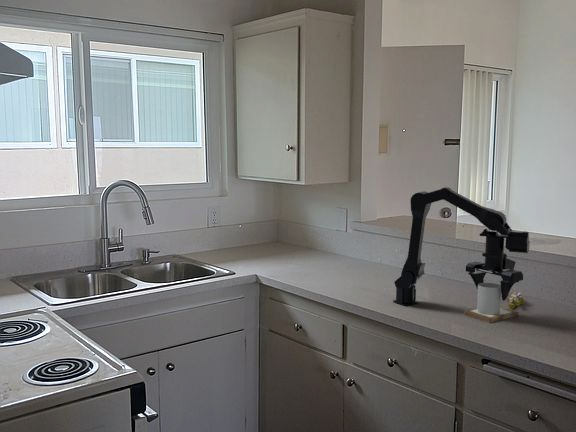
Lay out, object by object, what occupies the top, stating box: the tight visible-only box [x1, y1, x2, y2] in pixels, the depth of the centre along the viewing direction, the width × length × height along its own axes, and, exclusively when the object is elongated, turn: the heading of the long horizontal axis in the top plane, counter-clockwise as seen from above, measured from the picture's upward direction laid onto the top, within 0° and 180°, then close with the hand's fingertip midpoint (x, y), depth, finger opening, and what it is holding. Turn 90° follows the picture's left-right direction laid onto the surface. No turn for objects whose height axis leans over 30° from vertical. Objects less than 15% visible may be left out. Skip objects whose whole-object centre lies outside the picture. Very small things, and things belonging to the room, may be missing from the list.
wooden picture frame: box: [463, 306, 519, 323], centre depth 189 cm, size 14×10×1 cm
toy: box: [506, 290, 525, 310], centre depth 201 cm, size 5×5×15 cm
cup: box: [476, 282, 502, 315], centre depth 188 cm, size 7×10×9 cm
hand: (492, 297), depth 188 cm, fingers open, 9 cm apart
